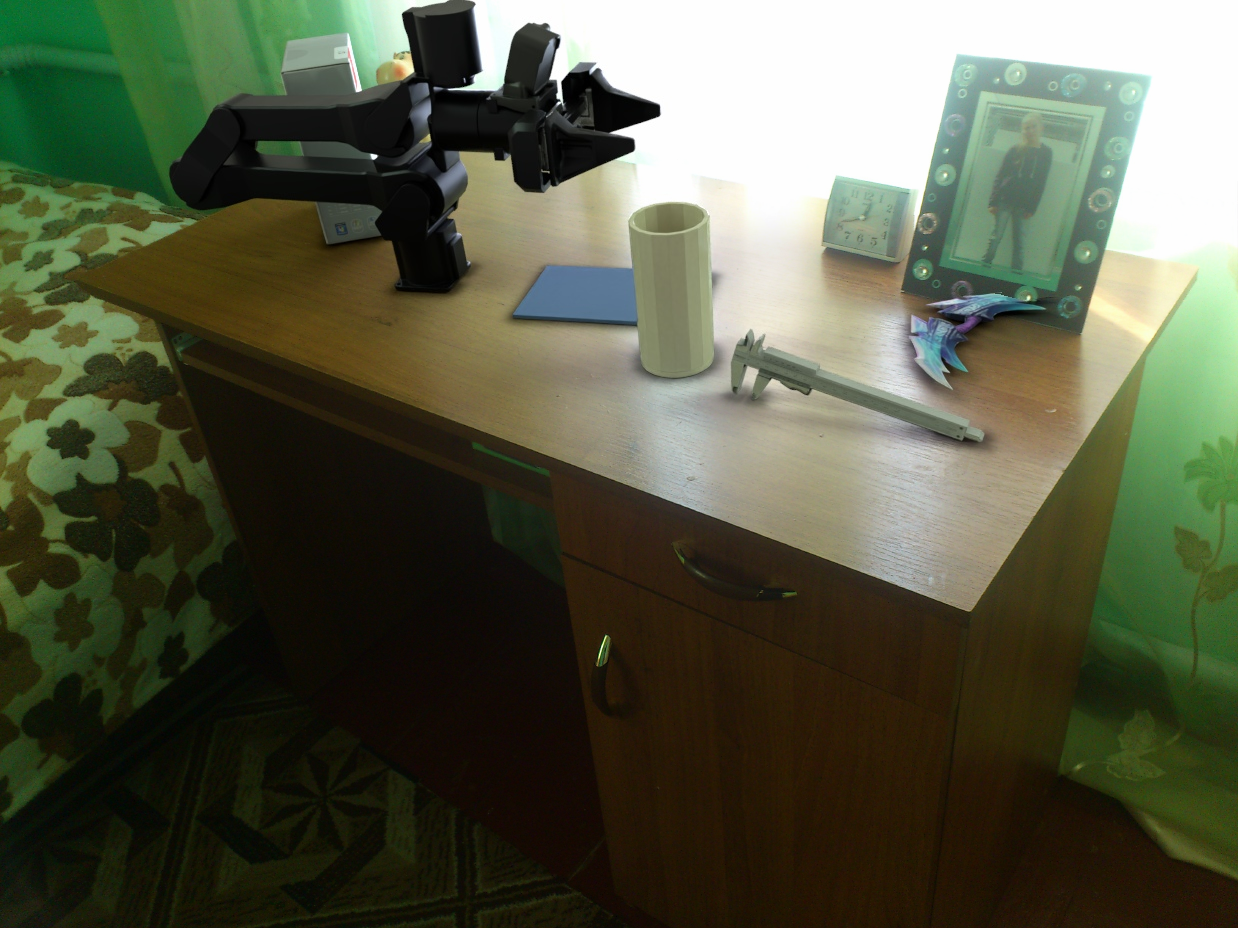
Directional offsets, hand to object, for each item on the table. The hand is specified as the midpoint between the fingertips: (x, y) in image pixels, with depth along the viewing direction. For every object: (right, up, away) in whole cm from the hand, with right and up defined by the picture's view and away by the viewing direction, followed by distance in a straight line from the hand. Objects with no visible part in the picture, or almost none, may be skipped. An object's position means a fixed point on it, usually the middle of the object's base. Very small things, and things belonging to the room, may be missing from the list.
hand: (648, 127), depth 89 cm
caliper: (+16, -27, -10) cm, 33 cm away
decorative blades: (+29, -19, -1) cm, 34 cm away
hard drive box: (-35, 0, +33) cm, 48 cm away
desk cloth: (-3, -14, +10) cm, 17 cm away
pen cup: (+3, -21, -1) cm, 21 cm away
